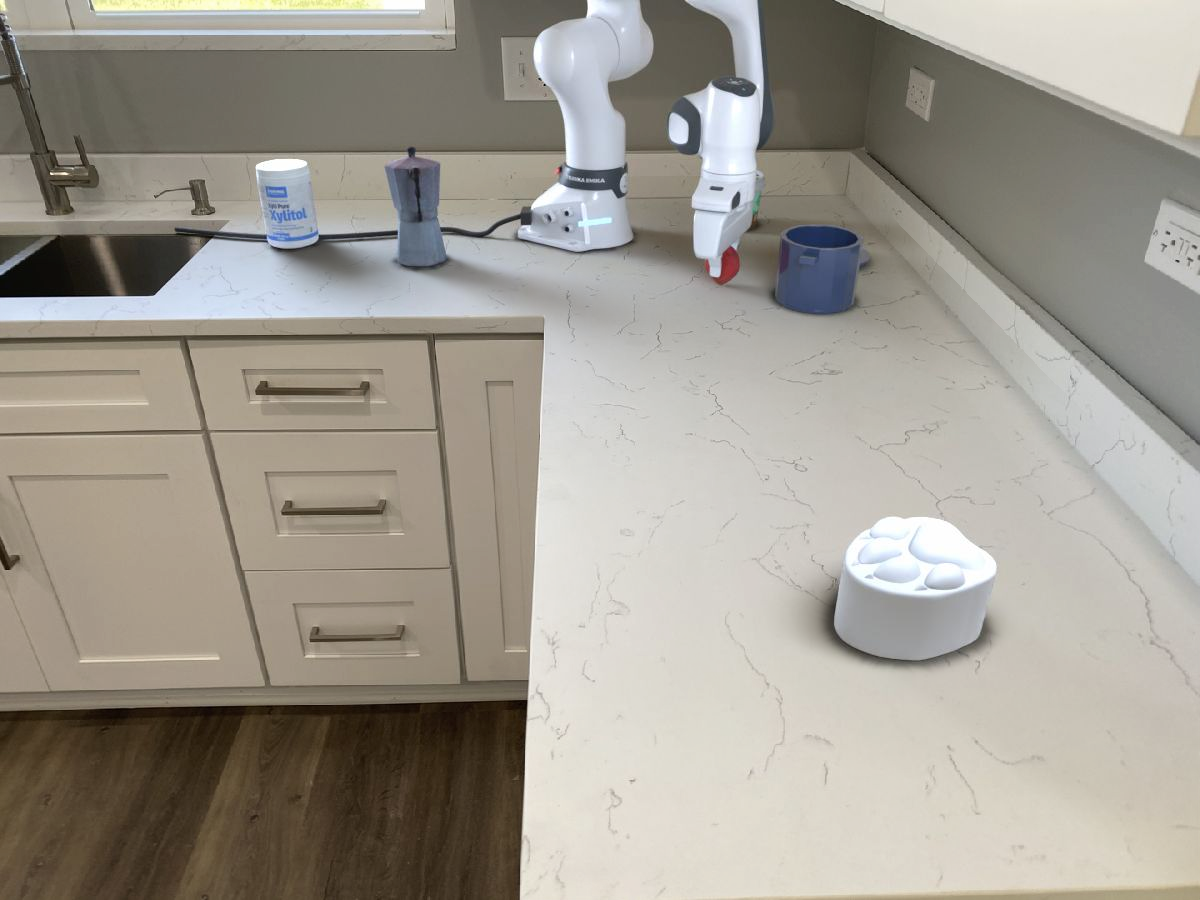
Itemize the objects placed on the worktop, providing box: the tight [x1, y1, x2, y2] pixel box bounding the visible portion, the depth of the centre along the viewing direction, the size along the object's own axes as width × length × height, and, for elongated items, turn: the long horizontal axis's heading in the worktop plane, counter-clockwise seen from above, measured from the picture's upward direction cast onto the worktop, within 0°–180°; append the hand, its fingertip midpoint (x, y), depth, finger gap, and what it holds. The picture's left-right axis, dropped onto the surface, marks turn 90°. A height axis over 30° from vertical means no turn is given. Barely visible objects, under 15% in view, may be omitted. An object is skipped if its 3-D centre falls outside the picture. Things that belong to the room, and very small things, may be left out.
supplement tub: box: [255, 158, 320, 250], centre depth 174 cm, size 10×10×15 cm
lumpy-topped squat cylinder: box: [833, 516, 998, 661], centre depth 82 cm, size 10×13×9 cm
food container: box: [747, 169, 767, 231], centre depth 183 cm, size 12×6×10 cm, turn 179°
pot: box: [774, 223, 864, 315], centre depth 149 cm, size 13×18×10 cm
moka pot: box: [384, 146, 447, 267], centre depth 163 cm, size 10×15×20 cm, turn 18°
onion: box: [704, 246, 741, 286], centre depth 155 cm, size 6×6×8 cm
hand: (722, 268), depth 156 cm, fingers closed on onion, 6 cm apart
